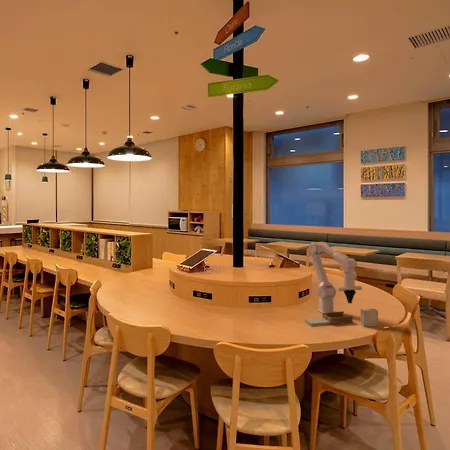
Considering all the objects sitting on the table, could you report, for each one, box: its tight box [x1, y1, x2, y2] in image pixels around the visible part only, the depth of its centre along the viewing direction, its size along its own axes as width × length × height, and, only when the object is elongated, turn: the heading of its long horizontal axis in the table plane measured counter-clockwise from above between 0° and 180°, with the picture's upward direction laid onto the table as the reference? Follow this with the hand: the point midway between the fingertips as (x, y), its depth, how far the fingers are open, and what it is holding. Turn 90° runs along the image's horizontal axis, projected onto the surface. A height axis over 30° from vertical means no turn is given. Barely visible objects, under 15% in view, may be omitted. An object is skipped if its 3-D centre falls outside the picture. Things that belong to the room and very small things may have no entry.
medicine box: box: [360, 308, 379, 328], centre depth 195 cm, size 8×4×9 cm, turn 92°
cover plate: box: [304, 317, 331, 327], centre depth 201 cm, size 8×11×2 cm
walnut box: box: [322, 310, 353, 326], centre depth 203 cm, size 10×13×4 cm
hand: (349, 303), depth 206 cm, fingers closed
